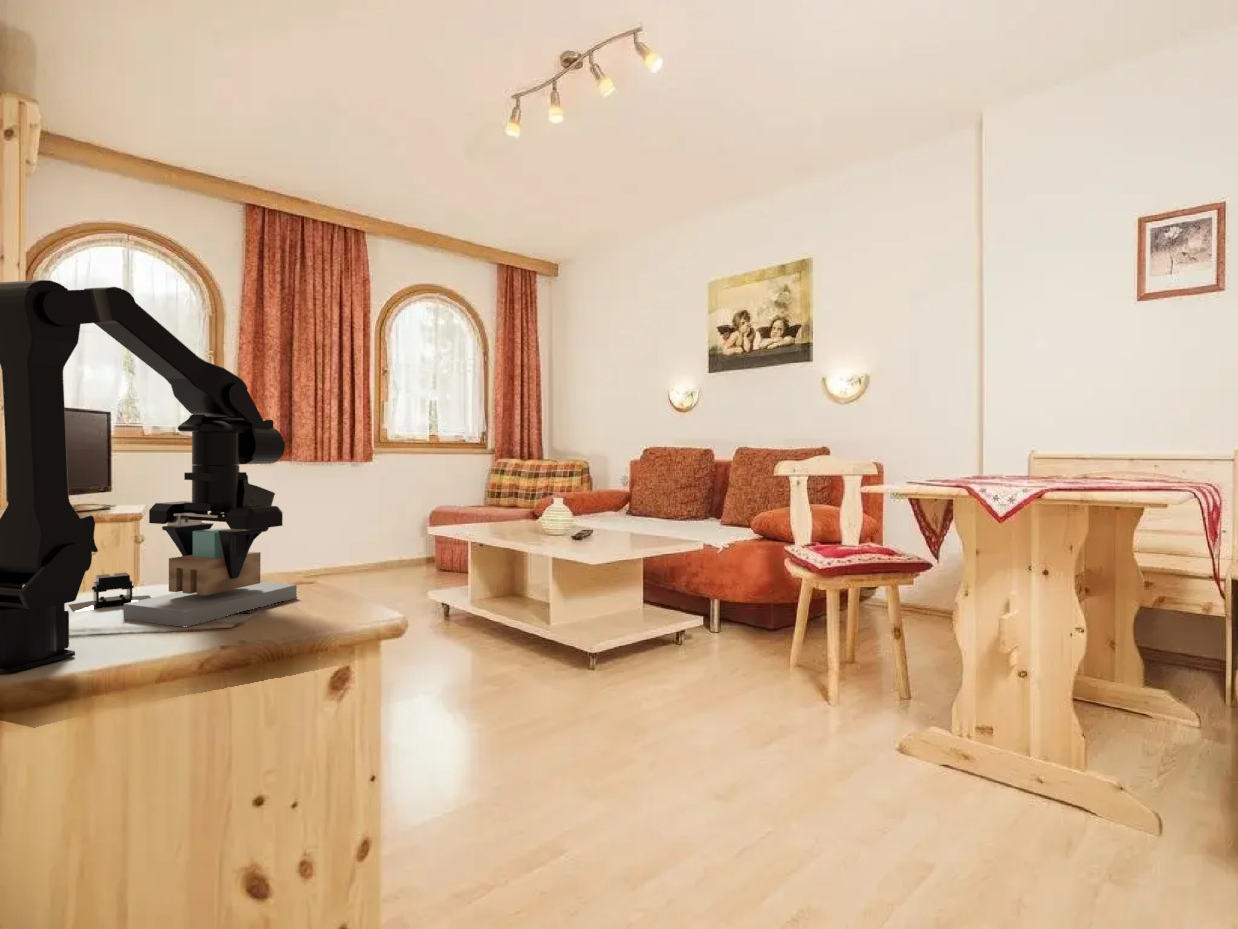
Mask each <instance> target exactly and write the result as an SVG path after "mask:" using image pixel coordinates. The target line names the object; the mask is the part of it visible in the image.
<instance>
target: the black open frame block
mask: <svg viewBox="0 0 1238 929" xmlns="http://www.w3.org/2000/svg"><path fill="white" fill-rule="evenodd" d="M92 585H93V586H91V590H92V591H93V595H92V596H93V600H89V601H83V602H77V603H71V604H68V607H69V608H70V610H71V611H72V612H73V613H74V612H82V611H90V610H98V609H106V608H107V609H108V608H115V607H122V606H123V604H125V603H130V602H134V601H139V600H144V599H149V598H152V597H151V596H150V595H149V594H148V595H134V596H133V589H134V588H135V585H134V584H133V581H132V580H131V575H130V574H129V573H127V572H116V573H113V575H111V574H110V573H107V574H96V575H95V581H93V584H92ZM111 590H112V591H113V590H122V591H123V590H126V594H119V595H115V596H107V597H106V596H100V595H99V594H100V593H105V592H107V591H111ZM99 596H100V597H99Z"/></svg>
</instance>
